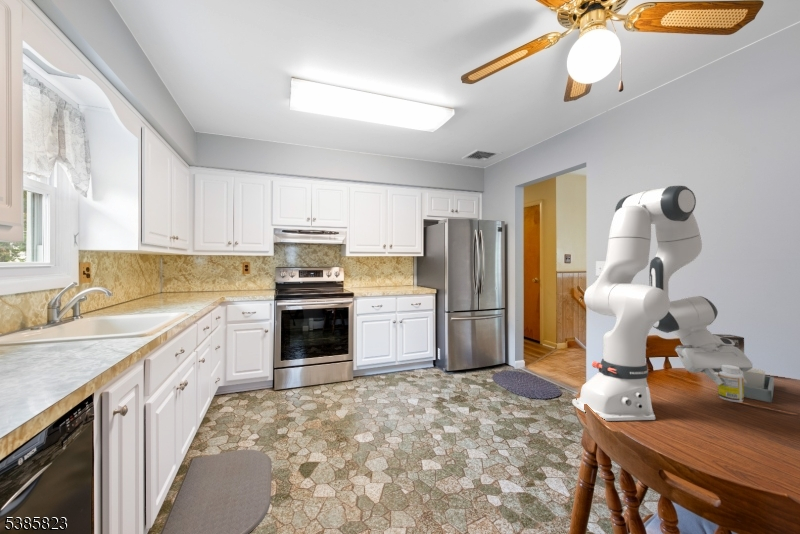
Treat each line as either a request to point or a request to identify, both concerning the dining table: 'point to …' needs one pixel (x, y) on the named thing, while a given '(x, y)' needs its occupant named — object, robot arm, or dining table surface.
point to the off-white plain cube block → (755, 378)
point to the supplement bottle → (731, 384)
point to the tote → (761, 391)
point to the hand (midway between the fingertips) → (732, 384)
